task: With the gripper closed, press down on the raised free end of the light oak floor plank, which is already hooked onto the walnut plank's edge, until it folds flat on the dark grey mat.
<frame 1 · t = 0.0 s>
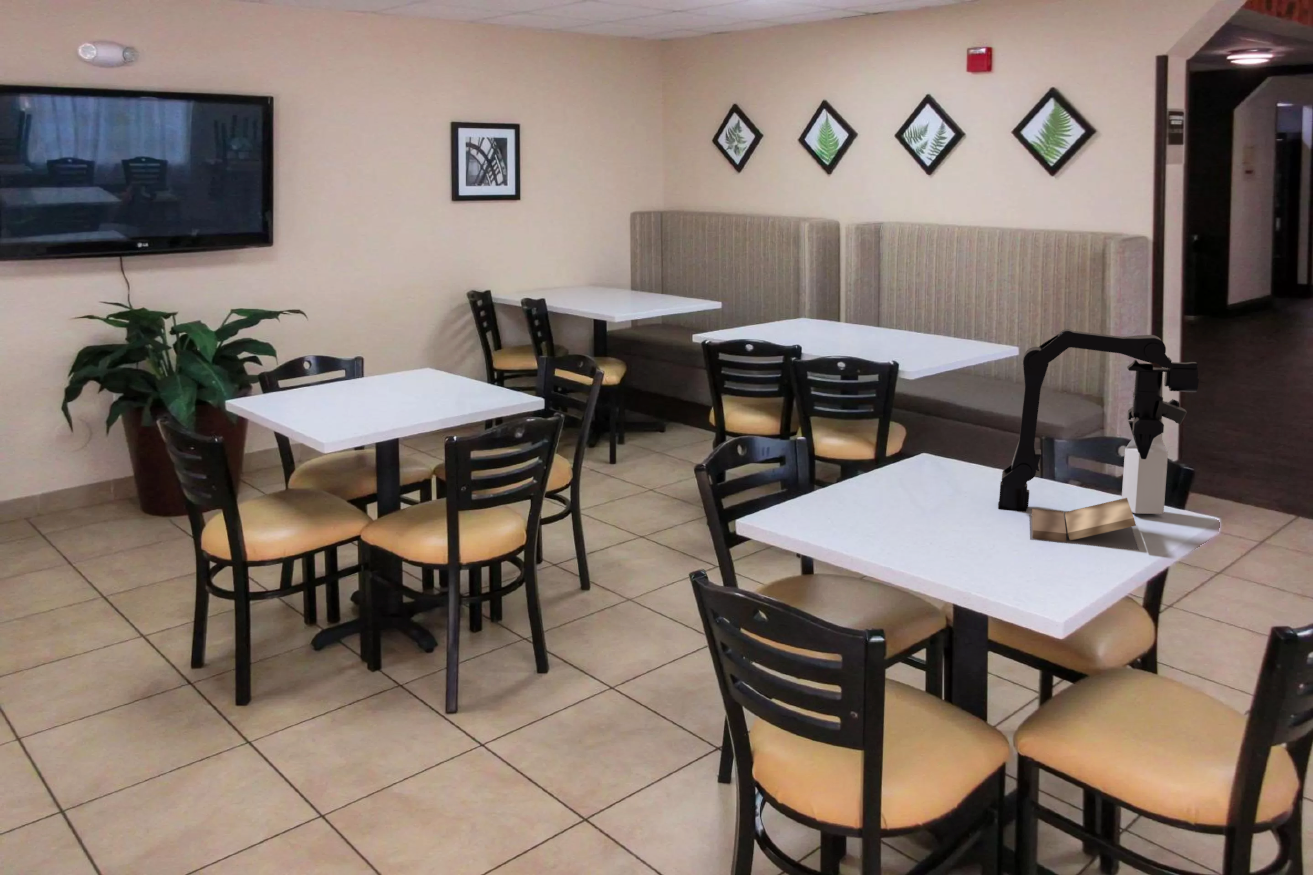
hand: (1142, 455, 262), 16 cm above the table, tool pointing down, fingers open, 7 cm apart
underlay mat: (1081, 533, 255), on the table
milk carton: (1141, 512, 271), on the table, touching gripper
walnut plank: (1047, 528, 257), on the table
oak plank: (1099, 518, 253), point 4 cm above the table, hinge at 20.0°
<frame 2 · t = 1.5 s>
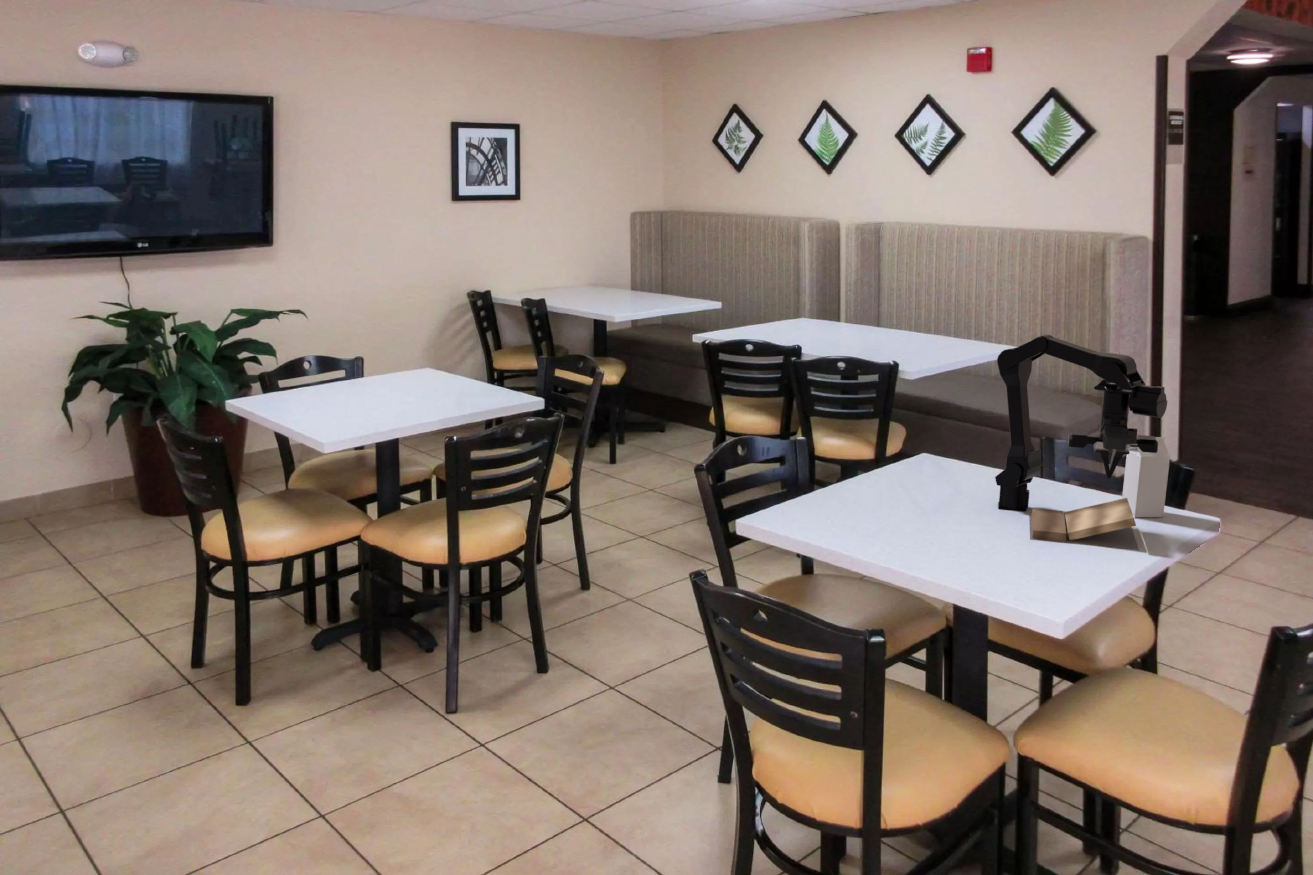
hand: (1108, 478, 256), 12 cm above the table, tool pointing down, fingers closed
milk carton: (1141, 514, 271), on the table
everything else where it was.
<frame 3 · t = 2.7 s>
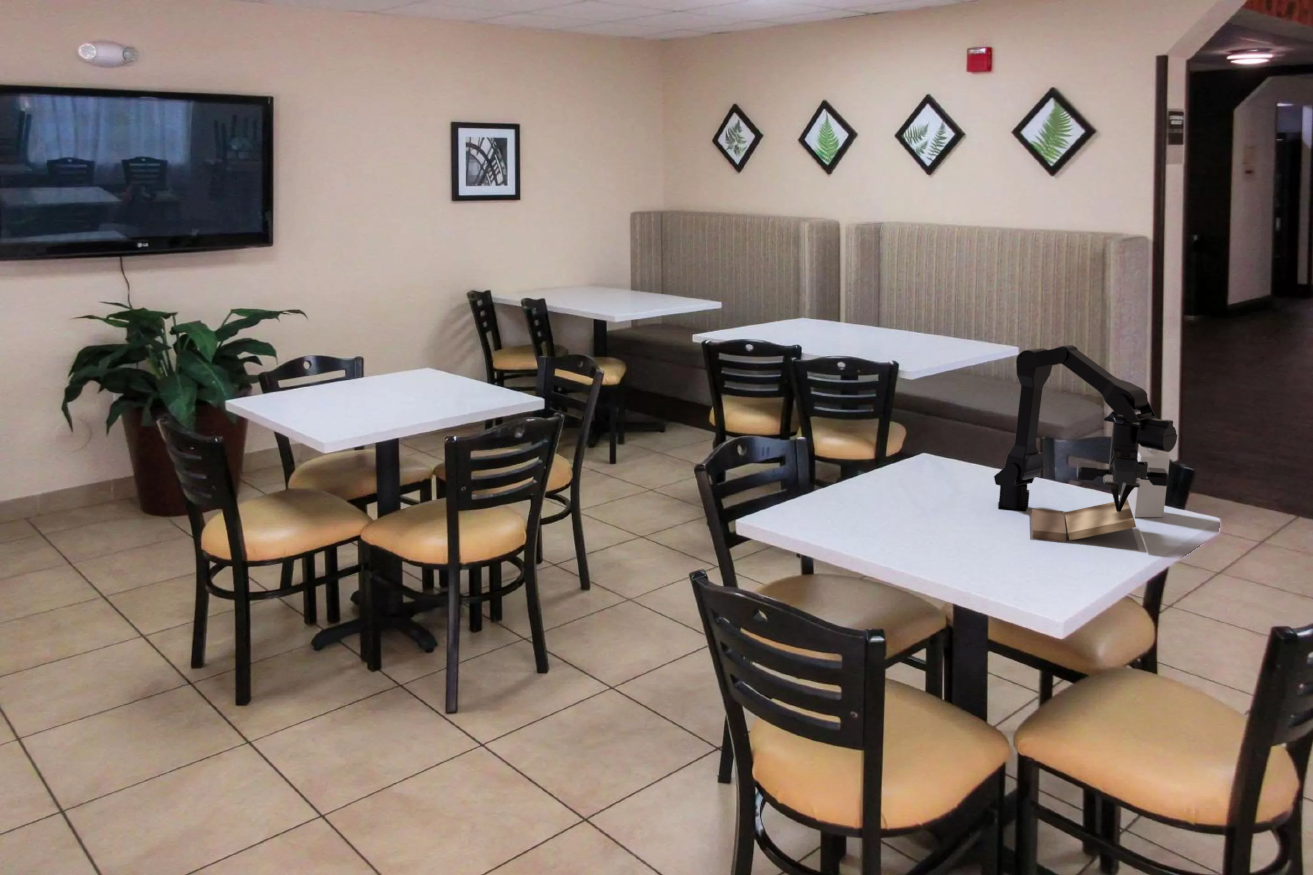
hand: (1118, 511, 252), 6 cm above the table, tool pointing down, fingers closed
oak plank: (1099, 519, 253), point 4 cm above the table, hinge at 18.6°, touching gripper
everything else where it was.
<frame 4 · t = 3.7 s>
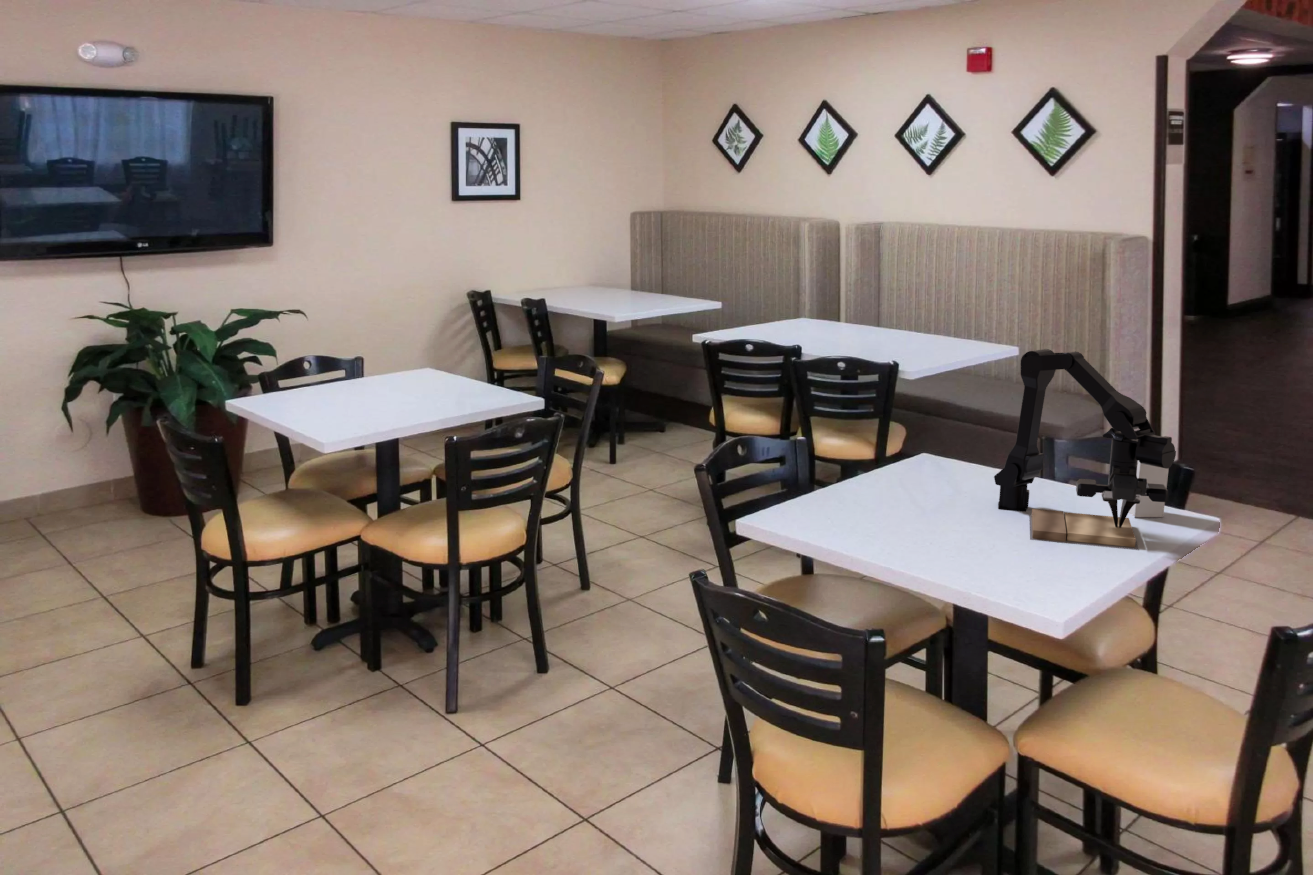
hand: (1118, 527, 252), 2 cm above the table, tool pointing down, fingers closed, pressing on oak plank
oak plank: (1098, 528, 254), point 1 cm above the table, hinge at -0.1°, touching gripper
everything else where it was.
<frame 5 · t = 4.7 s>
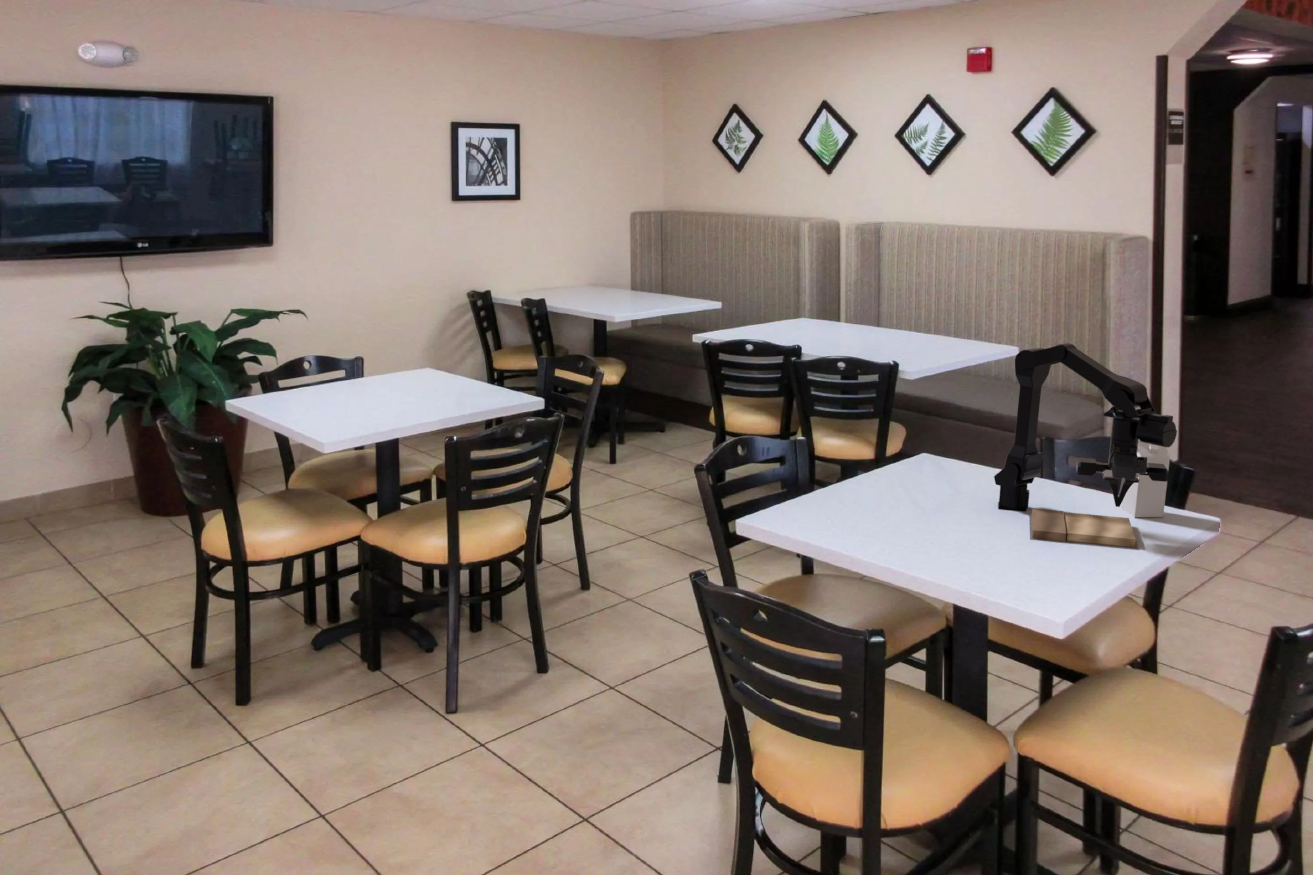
hand: (1117, 506, 252), 7 cm above the table, tool pointing down, fingers closed
oak plank: (1098, 528, 254), point 1 cm above the table, hinge at -0.1°
everything else where it was.
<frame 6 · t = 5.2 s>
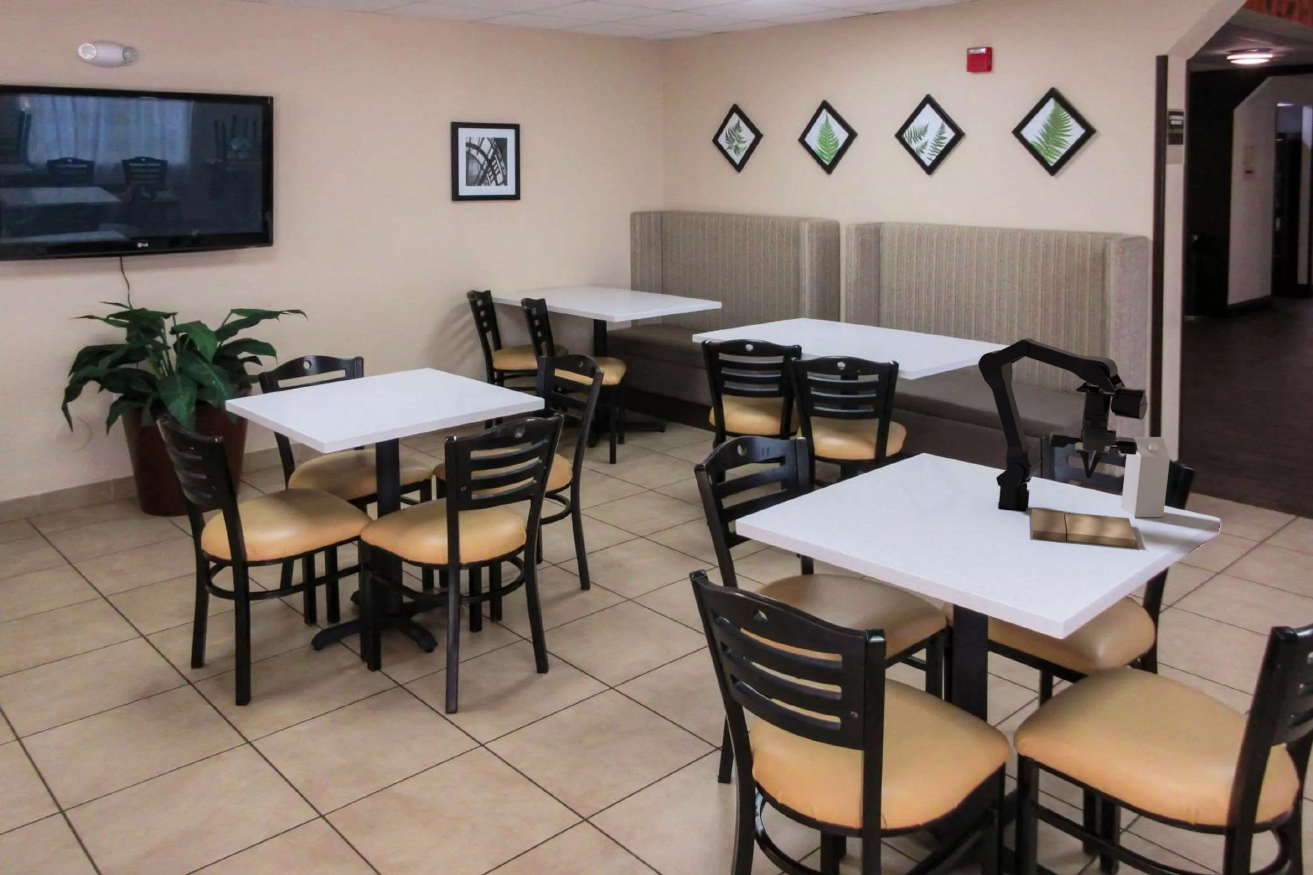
hand: (1088, 478, 261), 11 cm above the table, tool pointing down, fingers closed
nothing on the table moved.
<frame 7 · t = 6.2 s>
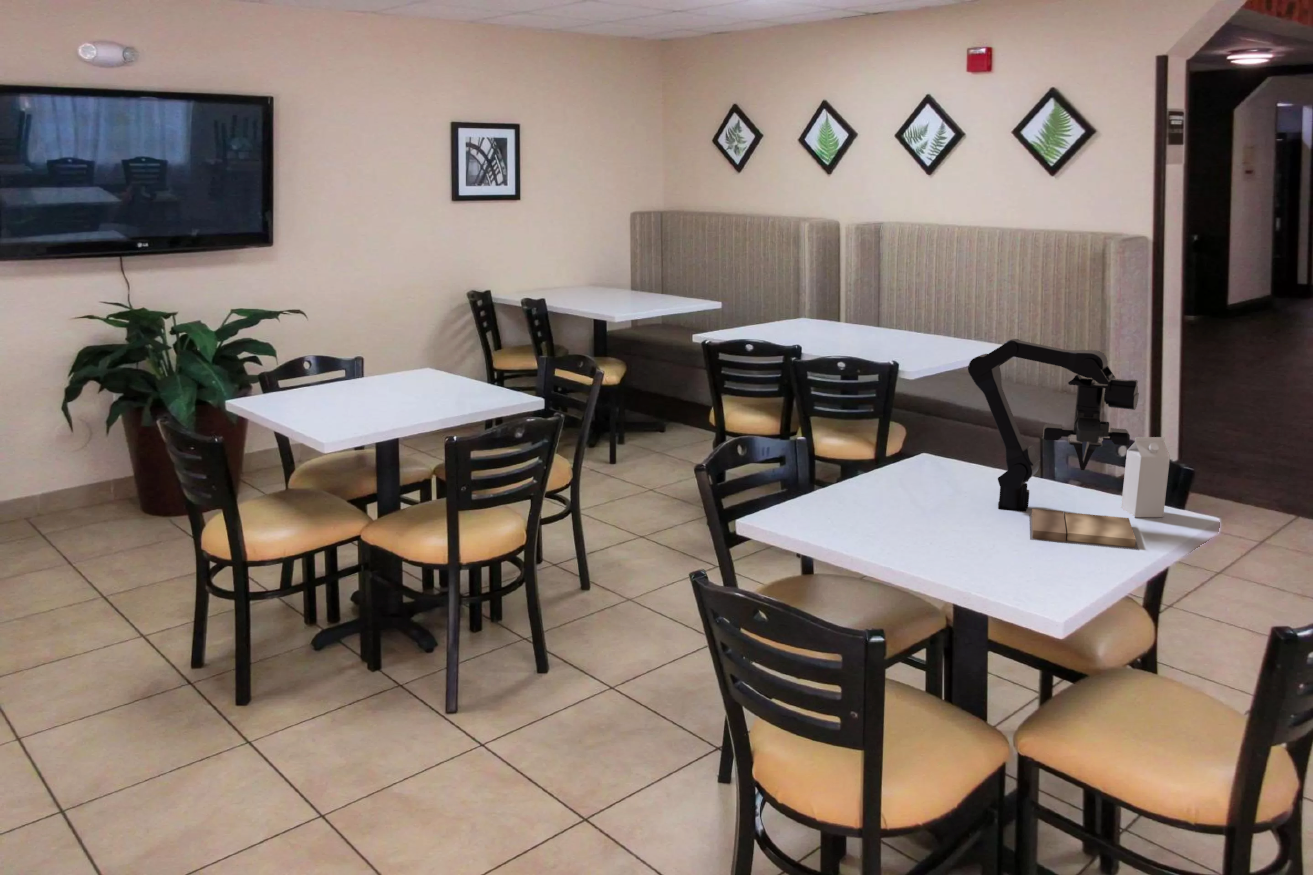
hand: (1082, 470, 264), 12 cm above the table, tool pointing down, fingers closed
nothing on the table moved.
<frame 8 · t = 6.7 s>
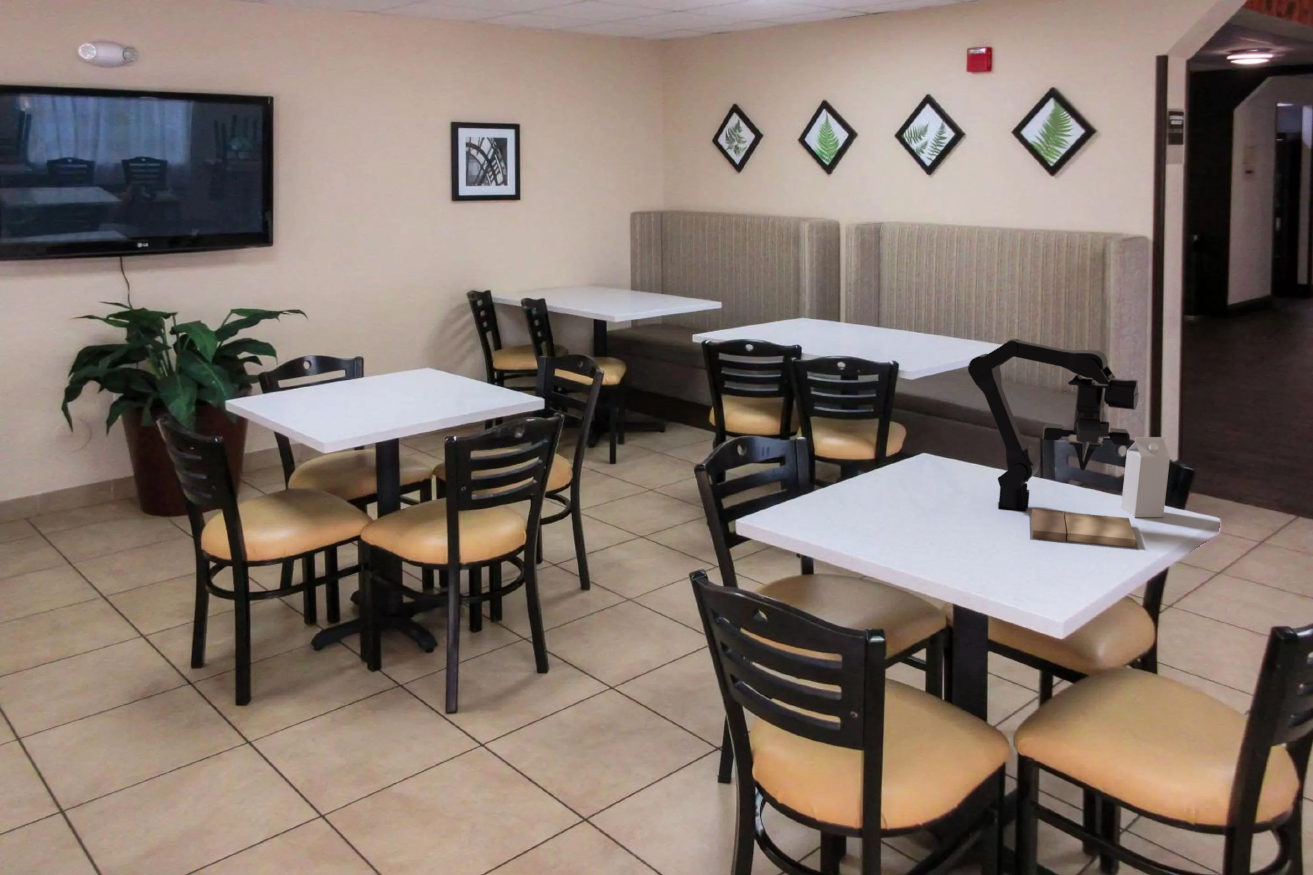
hand: (1082, 470, 264), 12 cm above the table, tool pointing down, fingers closed
nothing on the table moved.
at the end: oak plank at +0° (first picture: +20°); milk carton moved 0.3 cm from its start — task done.
